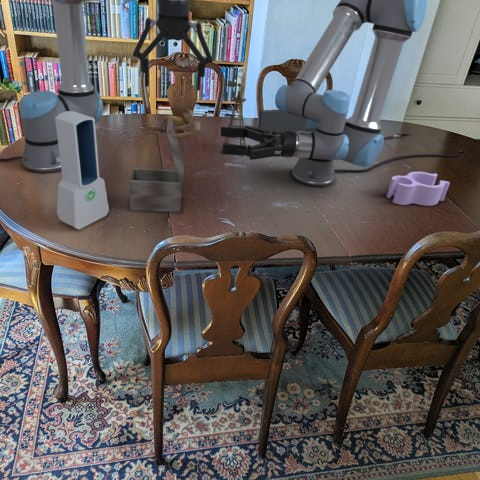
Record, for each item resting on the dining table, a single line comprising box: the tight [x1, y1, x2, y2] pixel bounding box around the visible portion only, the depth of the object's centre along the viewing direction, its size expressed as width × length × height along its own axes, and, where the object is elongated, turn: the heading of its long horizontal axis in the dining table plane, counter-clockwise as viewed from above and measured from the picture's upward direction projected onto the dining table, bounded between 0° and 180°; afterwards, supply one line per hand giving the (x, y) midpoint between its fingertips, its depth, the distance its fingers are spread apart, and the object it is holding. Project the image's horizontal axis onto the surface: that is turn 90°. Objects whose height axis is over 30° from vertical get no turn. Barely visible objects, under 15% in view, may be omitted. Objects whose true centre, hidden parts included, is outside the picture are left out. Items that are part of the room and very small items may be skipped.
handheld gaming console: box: [257, 109, 307, 134], centre depth 205 cm, size 23×3×10 cm, turn 108°
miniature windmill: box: [221, 72, 247, 153], centre depth 177 cm, size 9×8×30 cm
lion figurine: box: [158, 109, 194, 133], centre depth 194 cm, size 15×5×9 cm, turn 110°
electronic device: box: [55, 111, 110, 231], centre depth 124 cm, size 12×8×30 cm, turn 148°
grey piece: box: [166, 119, 201, 183], centre depth 134 cm, size 16×9×9 cm
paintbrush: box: [384, 133, 409, 140], centre depth 213 cm, size 31×3×1 cm, turn 126°
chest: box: [128, 167, 183, 213], centre depth 141 cm, size 15×9×10 cm, turn 94°
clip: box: [386, 171, 450, 207], centre depth 162 cm, size 20×12×7 cm, turn 109°
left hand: (172, 87), depth 125 cm, fingers open, 13 cm apart
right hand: (221, 139), depth 134 cm, fingers open, 13 cm apart
